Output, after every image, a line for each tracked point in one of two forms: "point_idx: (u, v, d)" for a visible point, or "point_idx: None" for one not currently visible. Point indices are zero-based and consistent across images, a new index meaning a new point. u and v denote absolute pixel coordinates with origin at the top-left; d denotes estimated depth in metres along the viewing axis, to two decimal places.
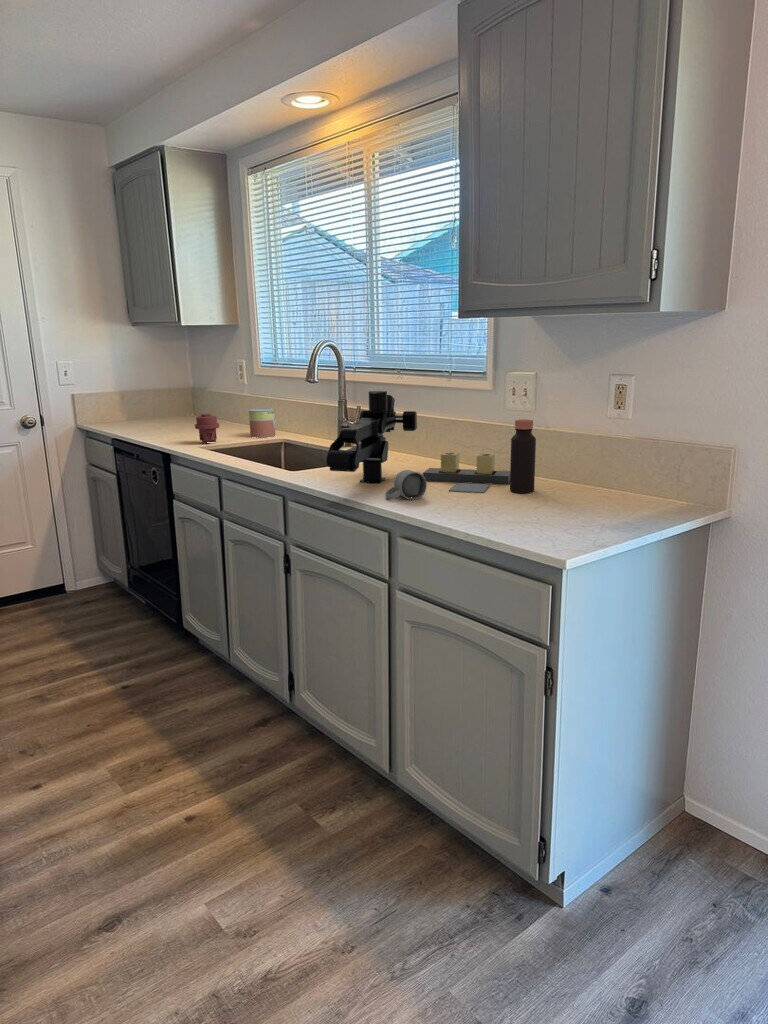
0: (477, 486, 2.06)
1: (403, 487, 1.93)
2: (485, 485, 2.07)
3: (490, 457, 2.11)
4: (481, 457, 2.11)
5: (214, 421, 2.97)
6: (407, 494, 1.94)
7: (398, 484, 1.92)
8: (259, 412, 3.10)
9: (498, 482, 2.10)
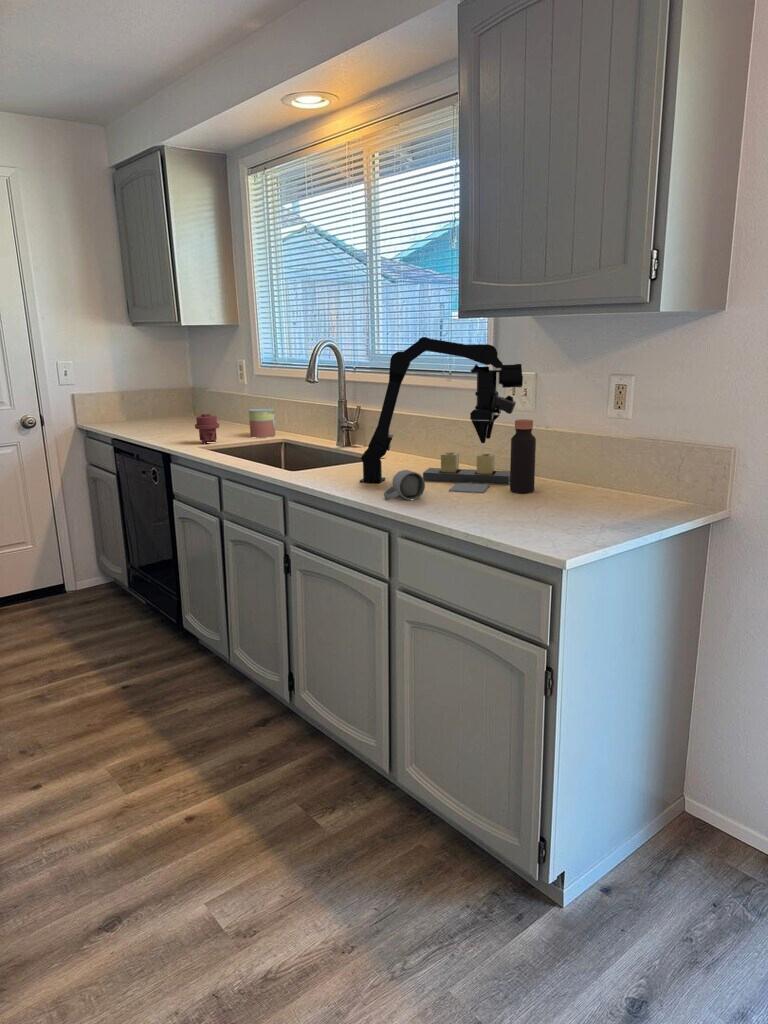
0: (477, 486, 2.06)
1: (401, 487, 1.93)
2: (485, 485, 2.07)
3: (490, 457, 2.11)
4: (481, 457, 2.11)
5: (214, 421, 2.97)
6: (405, 494, 1.94)
7: (396, 484, 1.92)
8: (259, 412, 3.10)
9: (498, 482, 2.10)
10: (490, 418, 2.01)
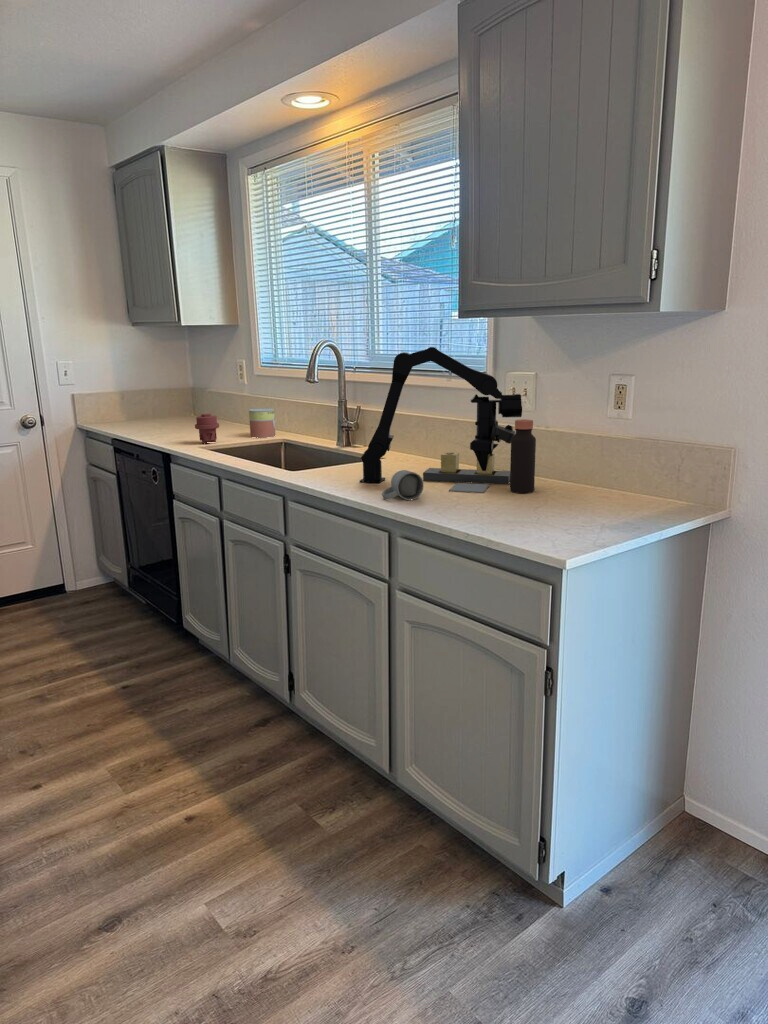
0: (477, 486, 2.06)
1: (400, 487, 1.93)
2: (485, 485, 2.07)
3: (490, 457, 2.11)
4: None
5: (214, 421, 2.97)
6: (404, 494, 1.94)
7: (395, 484, 1.92)
8: (259, 412, 3.10)
9: (498, 482, 2.10)
10: (490, 448, 2.03)
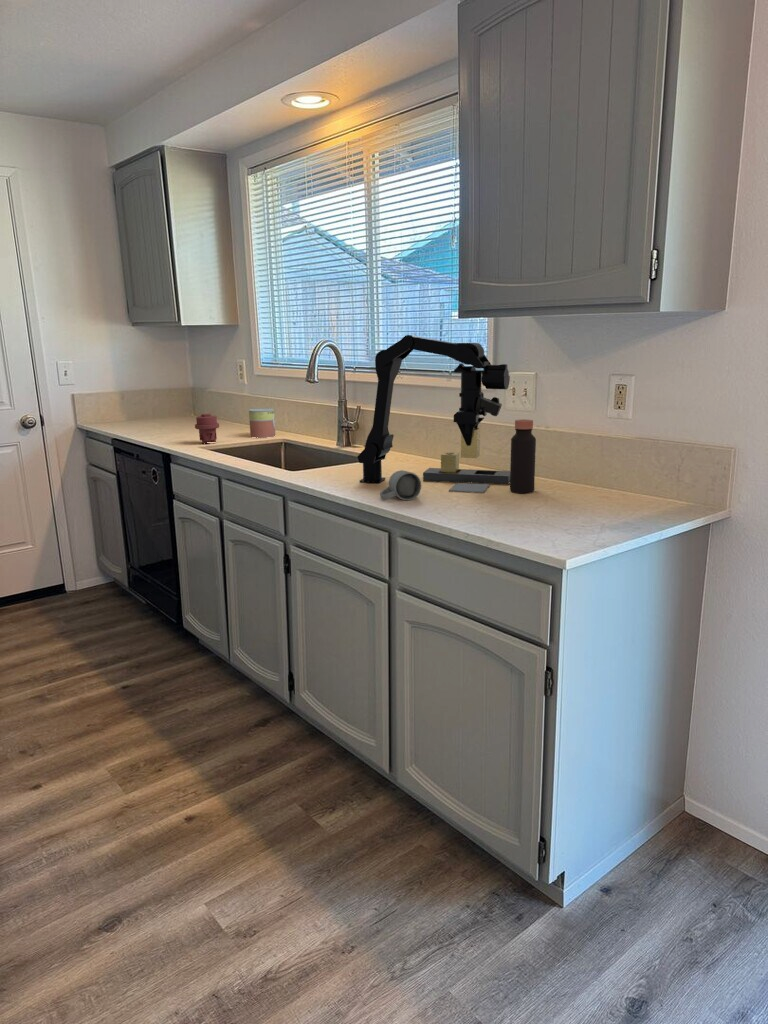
0: (477, 486, 2.06)
1: (398, 487, 1.92)
2: (485, 485, 2.07)
3: (475, 431, 1.98)
4: None
5: (214, 421, 2.97)
6: (402, 495, 1.93)
7: (392, 484, 1.92)
8: (259, 412, 3.10)
9: (498, 482, 2.10)
10: (474, 421, 1.91)
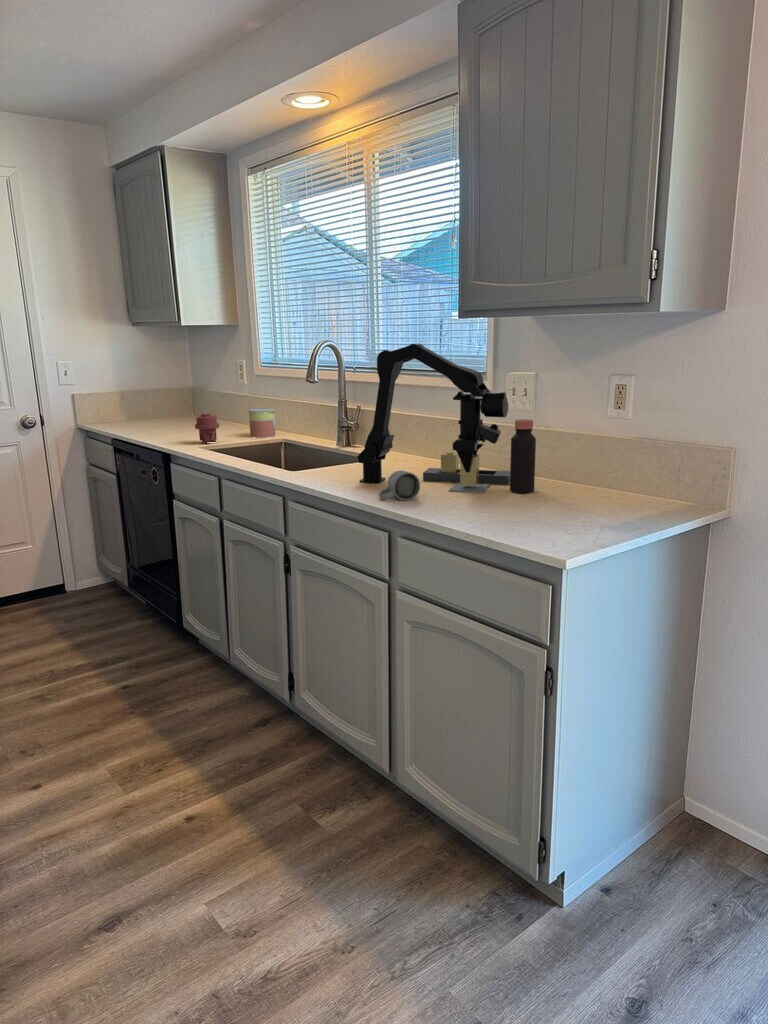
0: (477, 486, 2.06)
1: (396, 488, 1.92)
2: (485, 485, 2.07)
3: (474, 458, 2.00)
4: None
5: (214, 421, 2.97)
6: (400, 495, 1.93)
7: (391, 485, 1.92)
8: (259, 412, 3.10)
9: (498, 482, 2.10)
10: (473, 449, 1.92)
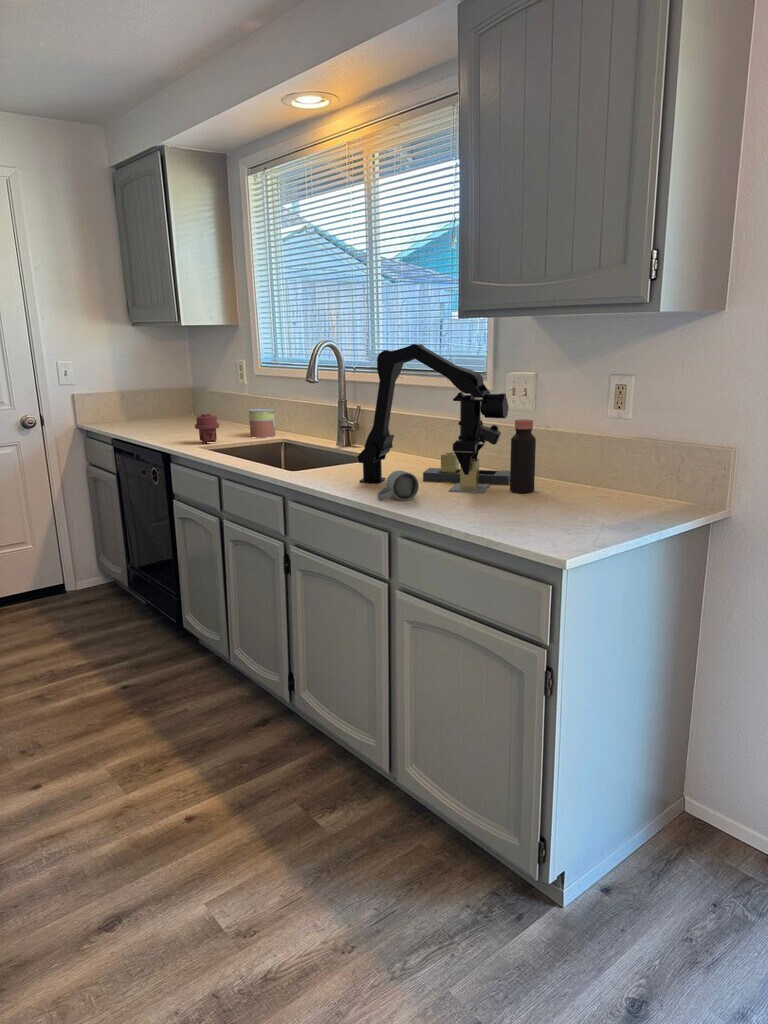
0: None
1: (395, 488, 1.92)
2: (485, 485, 2.07)
3: (474, 462, 2.00)
4: None
5: (214, 421, 2.97)
6: (399, 495, 1.93)
7: (390, 485, 1.92)
8: (259, 412, 3.10)
9: (498, 482, 2.10)
10: (473, 450, 1.92)
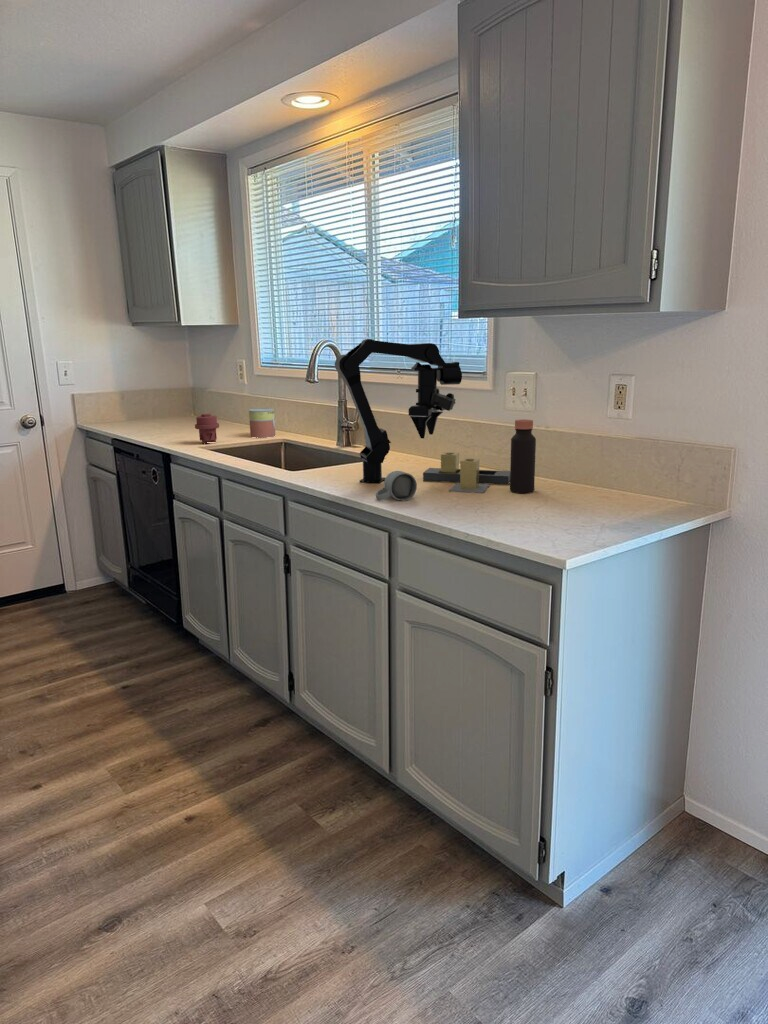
0: None
1: (393, 488, 1.92)
2: (485, 485, 2.07)
3: (474, 462, 2.00)
4: (465, 462, 2.01)
5: (214, 421, 2.97)
6: (397, 495, 1.93)
7: (388, 485, 1.92)
8: (259, 412, 3.10)
9: (498, 482, 2.10)
10: (427, 414, 2.08)
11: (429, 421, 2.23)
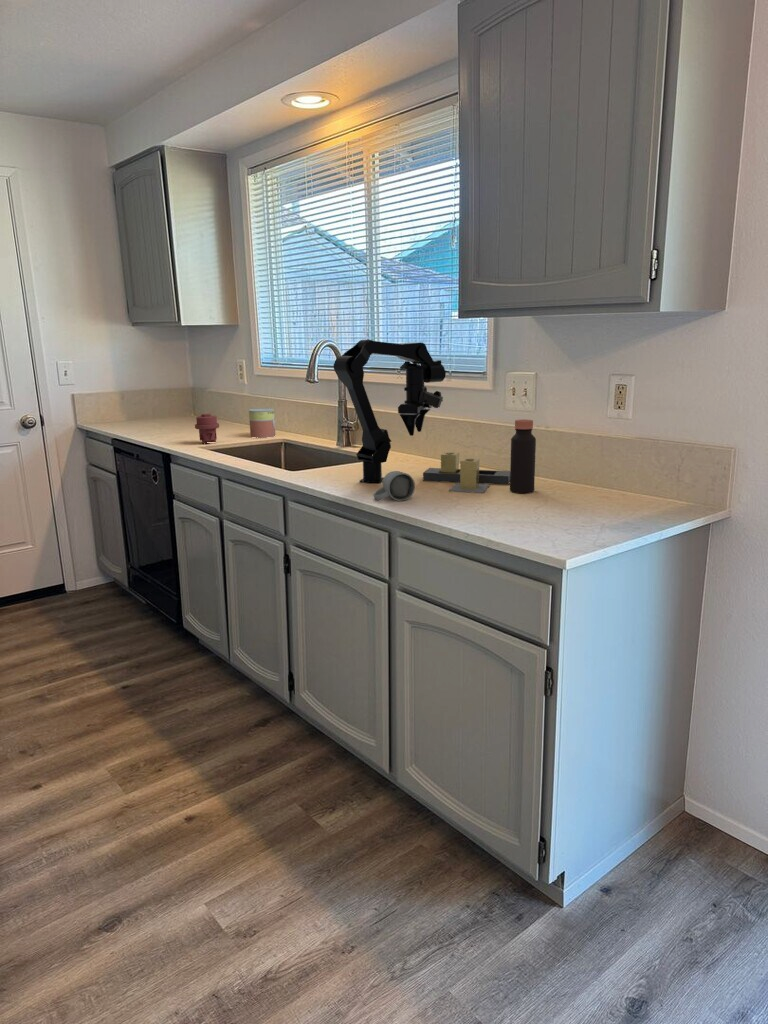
0: None
1: (391, 488, 1.92)
2: (485, 485, 2.07)
3: (474, 462, 2.00)
4: (465, 462, 2.01)
5: (214, 421, 2.97)
6: (395, 495, 1.93)
7: (386, 485, 1.91)
8: (259, 412, 3.10)
9: (498, 482, 2.10)
10: (416, 412, 2.13)
11: (417, 418, 2.28)
